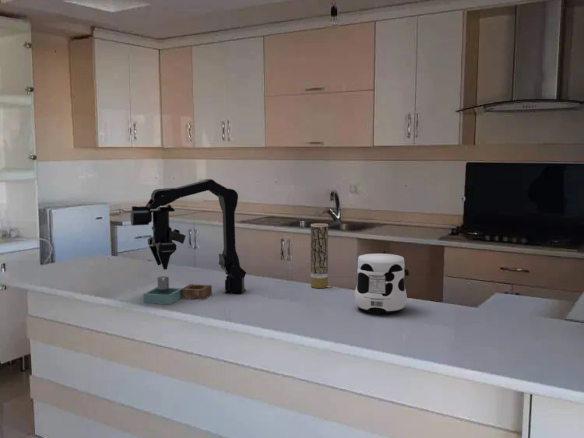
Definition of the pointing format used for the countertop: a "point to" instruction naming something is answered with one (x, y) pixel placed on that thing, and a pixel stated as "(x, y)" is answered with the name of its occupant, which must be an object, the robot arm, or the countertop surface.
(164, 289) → the translucent grey cylinder
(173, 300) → the tray
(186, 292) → the block
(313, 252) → the bark textured cylinder
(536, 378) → the countertop surface
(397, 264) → the milk container
